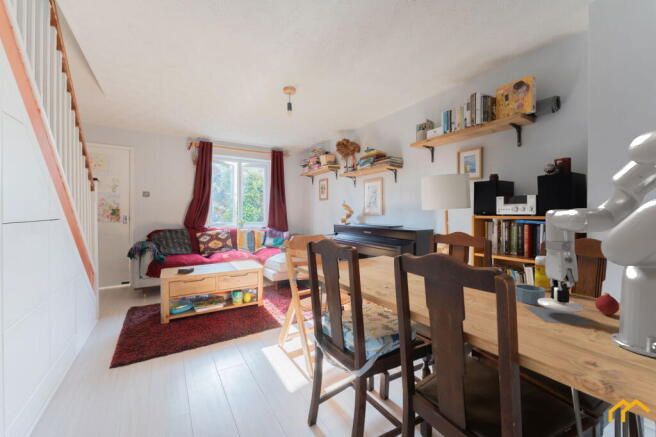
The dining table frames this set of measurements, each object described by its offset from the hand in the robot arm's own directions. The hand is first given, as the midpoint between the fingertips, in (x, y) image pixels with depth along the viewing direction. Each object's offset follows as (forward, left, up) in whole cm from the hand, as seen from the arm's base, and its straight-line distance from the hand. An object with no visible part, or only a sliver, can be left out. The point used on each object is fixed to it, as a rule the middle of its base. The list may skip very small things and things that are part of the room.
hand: (559, 300), depth 95 cm
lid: (0, 0, -2) cm, 2 cm away
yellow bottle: (+35, -12, -6) cm, 37 cm away
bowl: (+16, +2, -6) cm, 17 cm away
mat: (+1, 0, -6) cm, 6 cm away
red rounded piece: (+5, -17, -6) cm, 18 cm away
